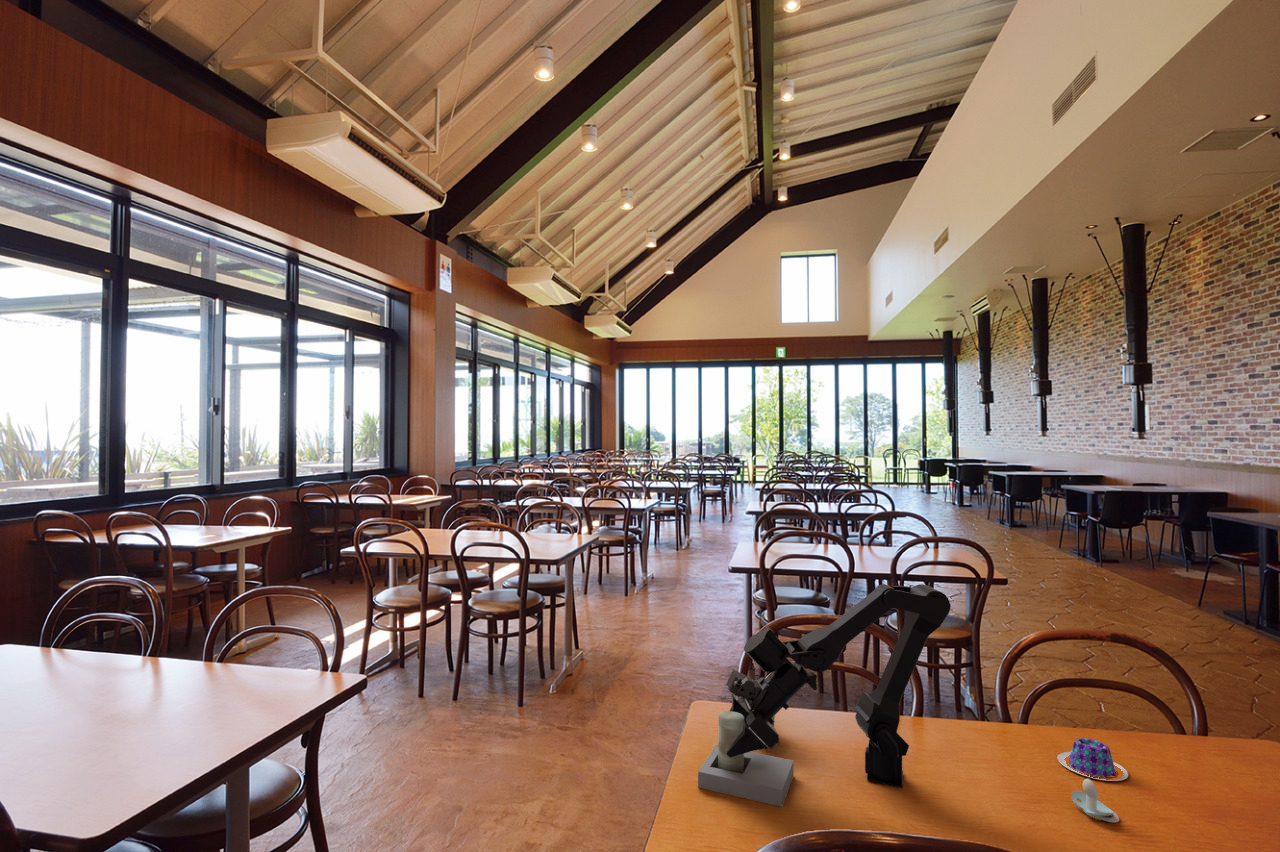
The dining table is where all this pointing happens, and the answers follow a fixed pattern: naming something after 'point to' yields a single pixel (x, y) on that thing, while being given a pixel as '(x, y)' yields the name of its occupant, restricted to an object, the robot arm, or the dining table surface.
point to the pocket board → (749, 778)
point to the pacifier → (1093, 803)
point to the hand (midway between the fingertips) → (723, 744)
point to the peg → (729, 741)
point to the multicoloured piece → (1091, 759)
